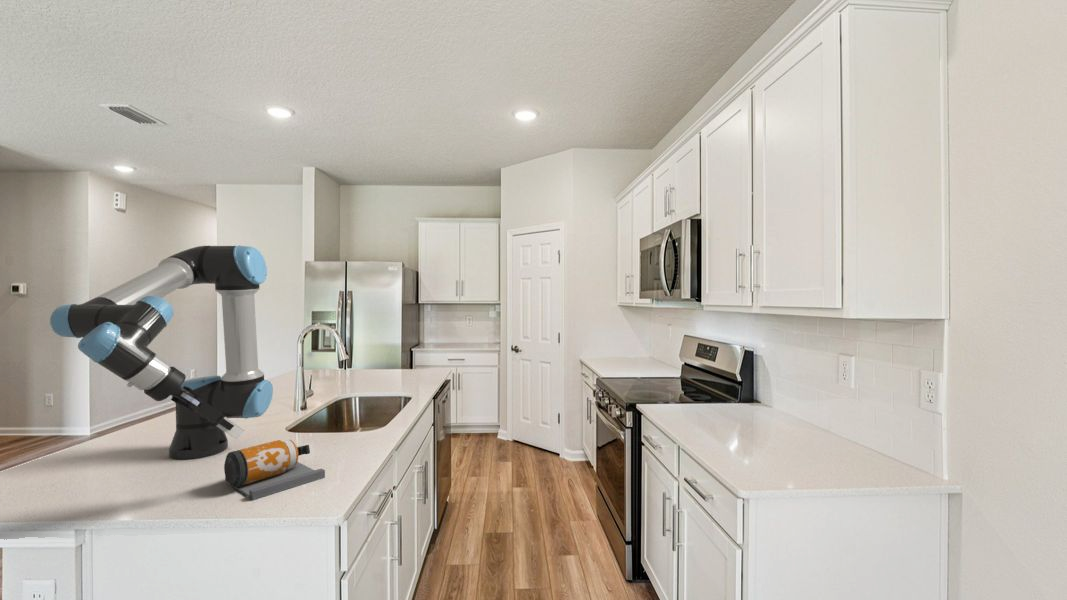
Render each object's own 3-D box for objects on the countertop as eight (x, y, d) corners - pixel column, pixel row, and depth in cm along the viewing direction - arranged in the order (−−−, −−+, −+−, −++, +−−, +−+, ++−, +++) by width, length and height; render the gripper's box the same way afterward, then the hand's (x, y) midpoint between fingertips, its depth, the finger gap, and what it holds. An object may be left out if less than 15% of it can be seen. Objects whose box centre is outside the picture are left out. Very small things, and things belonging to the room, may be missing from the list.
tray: (225, 481, 125) (225, 473, 125) (294, 462, 139) (294, 455, 139) (252, 500, 113) (252, 492, 113) (324, 477, 127) (324, 470, 127)
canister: (235, 451, 117) (311, 431, 133) (216, 455, 123) (292, 436, 140) (239, 487, 116) (316, 463, 132) (221, 490, 122) (296, 466, 138)
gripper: (135, 388, 108) (218, 442, 121) (150, 396, 100) (238, 453, 113) (163, 362, 112) (241, 417, 125) (180, 368, 104) (261, 426, 117)
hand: (239, 434), depth 119 cm, fingers closed
